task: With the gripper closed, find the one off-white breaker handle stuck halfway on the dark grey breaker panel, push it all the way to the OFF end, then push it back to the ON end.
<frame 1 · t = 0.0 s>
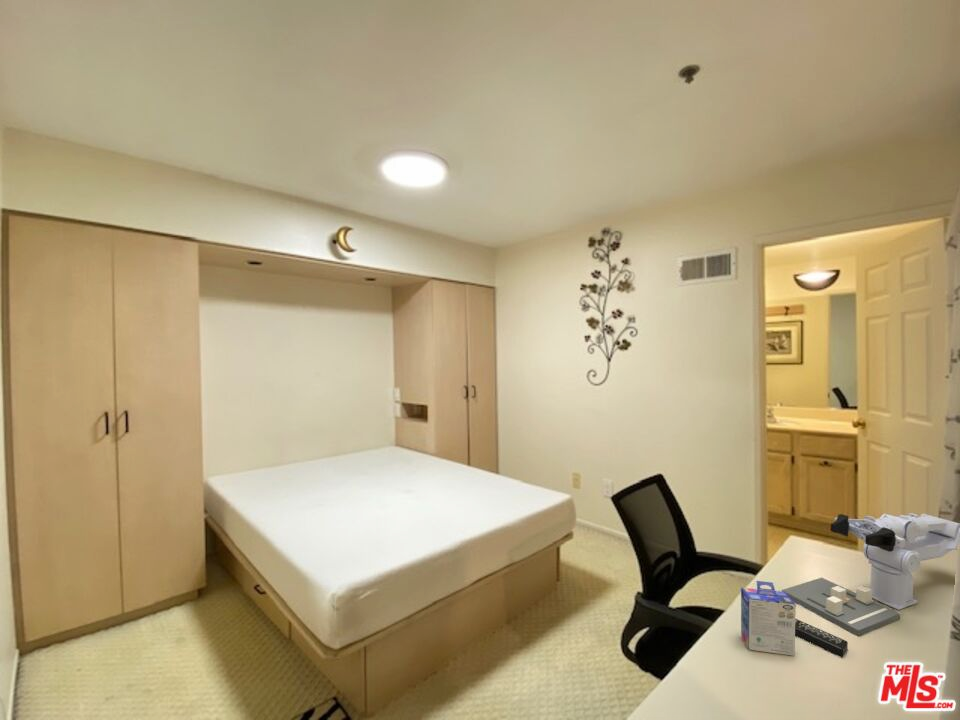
hand: (849, 533, 109), 22 cm above the table, tool horizontal, fingers open, 7 cm apart
breaker handle 2: (863, 594, 113), point 3 cm above the table, slide at 2.5 cm
tripped breaker handle: (838, 594, 113), point 3 cm above the table, slide at 0.0 cm
breaker panel: (838, 606, 113), on the table
ink cartridge box: (766, 646, 98), on the table
multiport hub: (815, 642, 100), on the table
breaker handle 1: (834, 605, 108), point 3 cm above the table, slide at 2.5 cm
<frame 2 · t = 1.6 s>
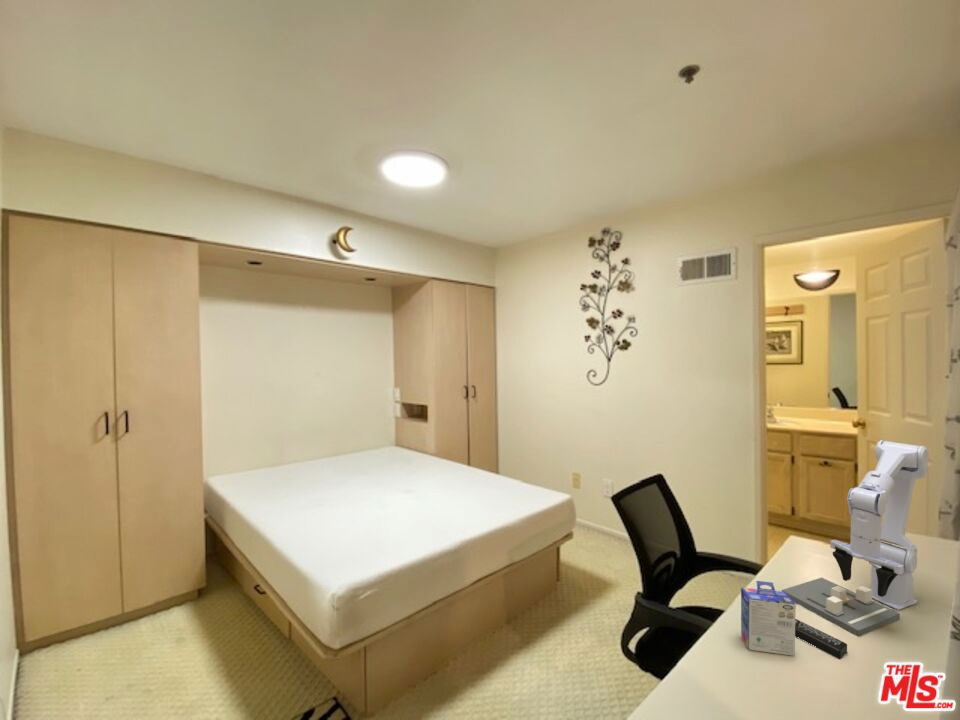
hand: (863, 587, 107), 8 cm above the table, tool pointing down, fingers open, 7 cm apart
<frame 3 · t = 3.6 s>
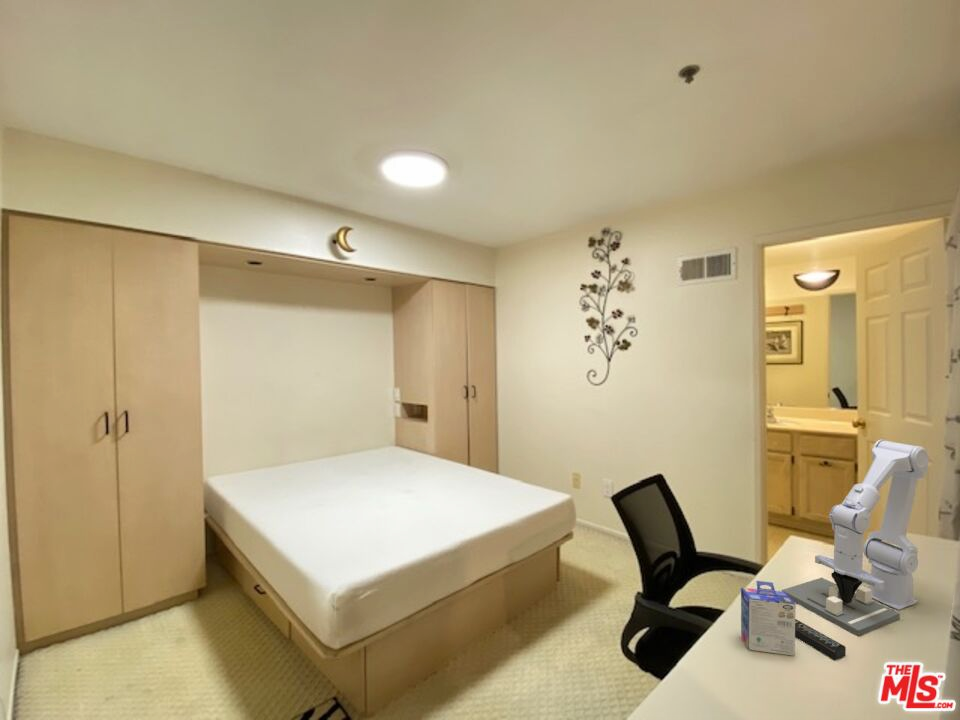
hand: (846, 601, 111), 3 cm above the table, tool pointing down, fingers closed
tripped breaker handle: (836, 593, 113), point 3 cm above the table, slide at -0.4 cm, touching gripper
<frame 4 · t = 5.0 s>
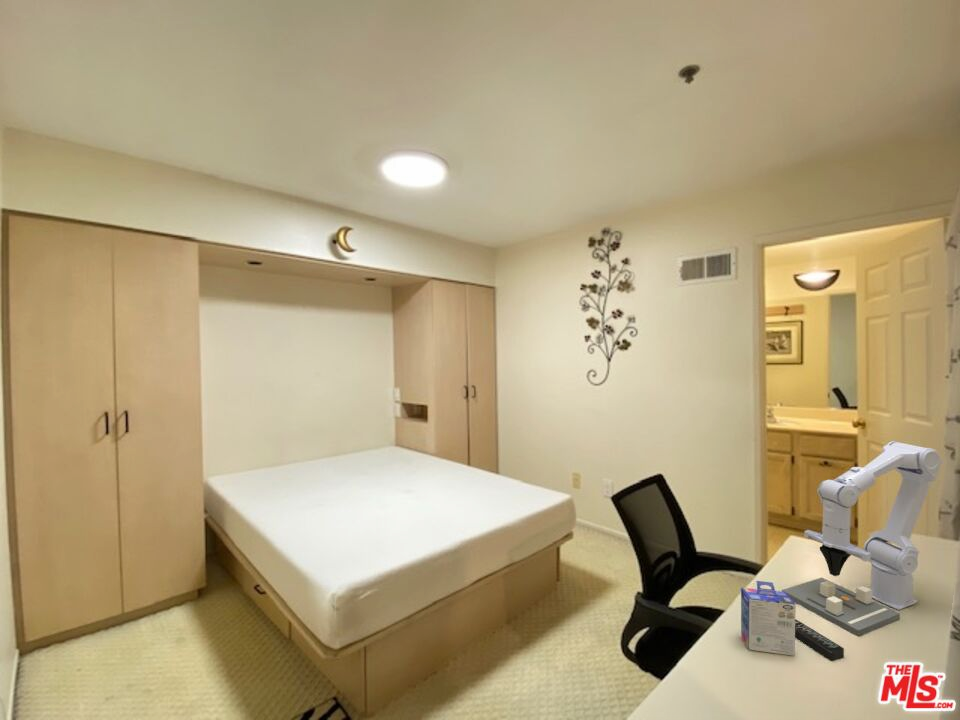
hand: (834, 574, 114), 8 cm above the table, tool pointing down, fingers closed
tripped breaker handle: (827, 589, 115), point 3 cm above the table, slide at -2.6 cm
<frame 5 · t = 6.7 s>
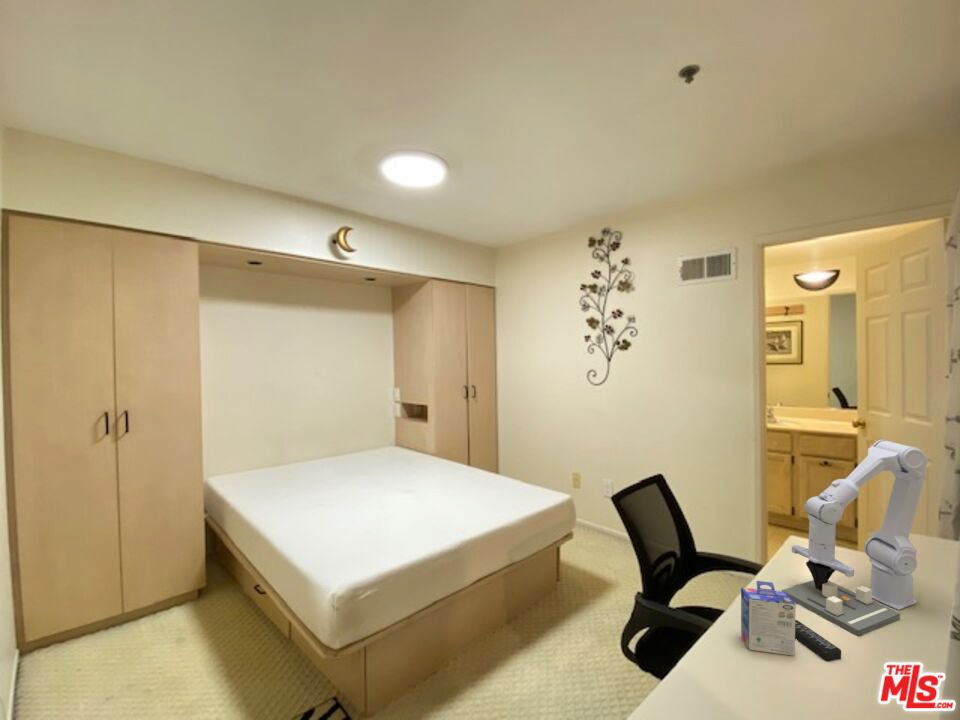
hand: (820, 588, 117), 2 cm above the table, tool pointing down, fingers closed
tripped breaker handle: (829, 590, 115), point 3 cm above the table, slide at -2.0 cm, touching gripper
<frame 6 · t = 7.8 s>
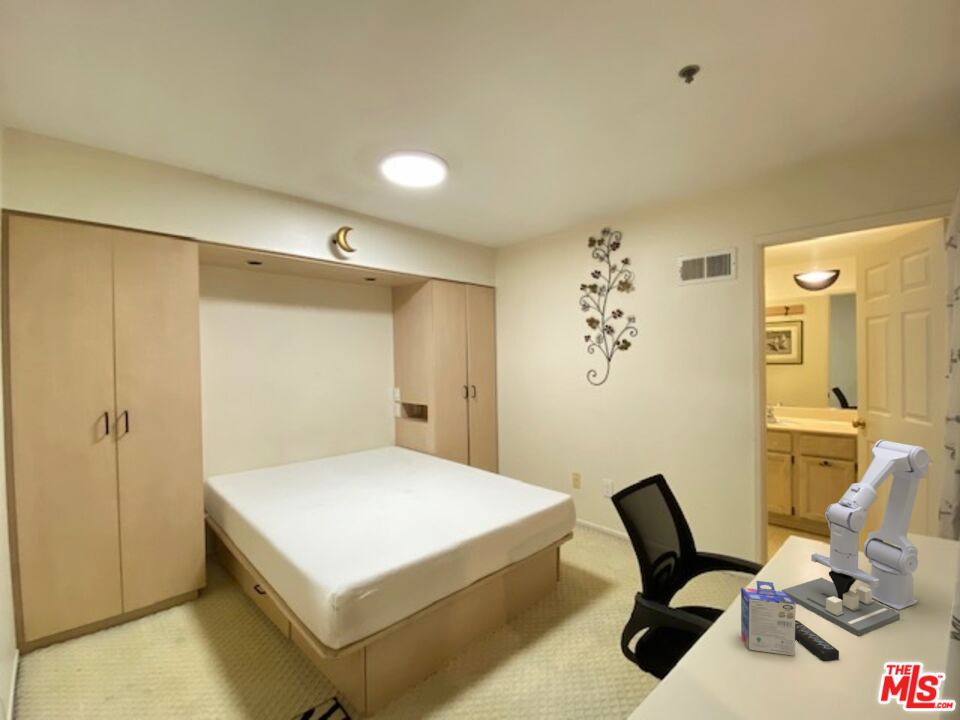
hand: (842, 599, 112), 2 cm above the table, tool pointing down, fingers closed
tripped breaker handle: (850, 600, 110), point 3 cm above the table, slide at 2.8 cm, touching gripper
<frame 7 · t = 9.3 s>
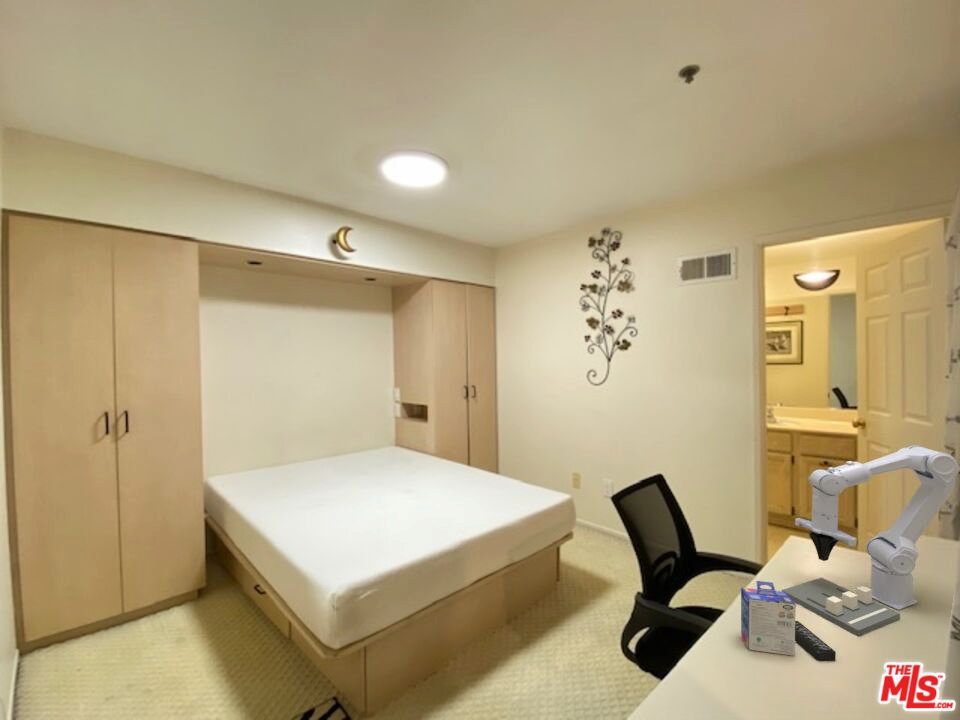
hand: (823, 559, 120), 9 cm above the table, tool pointing down, fingers closed
tripped breaker handle: (849, 600, 110), point 3 cm above the table, slide at 2.6 cm
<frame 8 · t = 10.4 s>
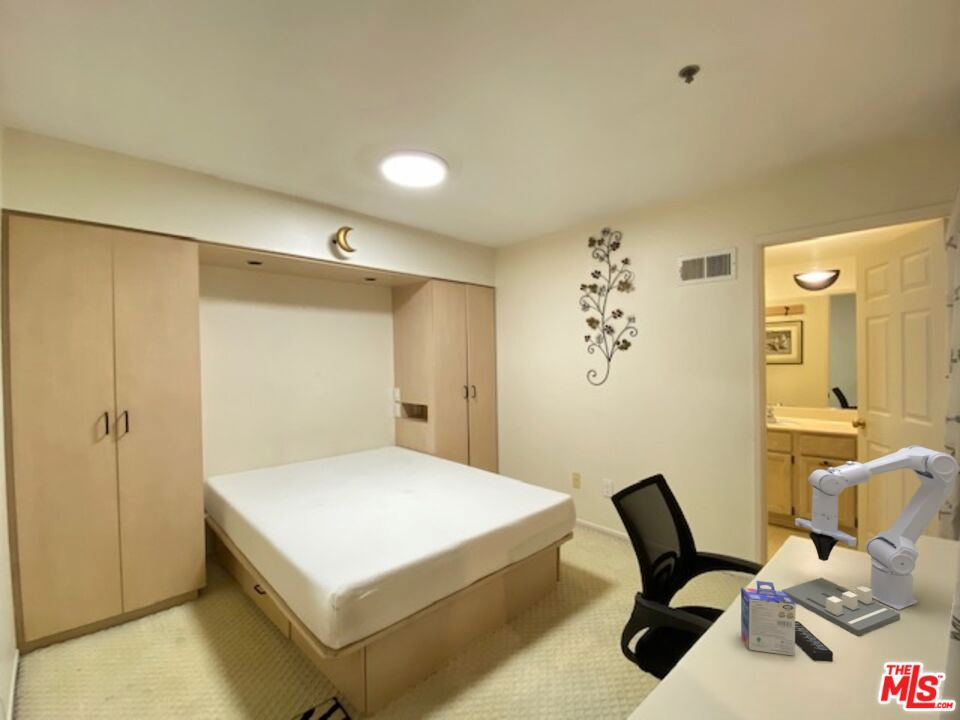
hand: (823, 559, 120), 9 cm above the table, tool pointing down, fingers closed
at the end: tripped breaker handle slide at 2.6 cm; breaker handle 2 slide at 2.5 cm; breaker handle 1 slide at 2.5 cm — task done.
